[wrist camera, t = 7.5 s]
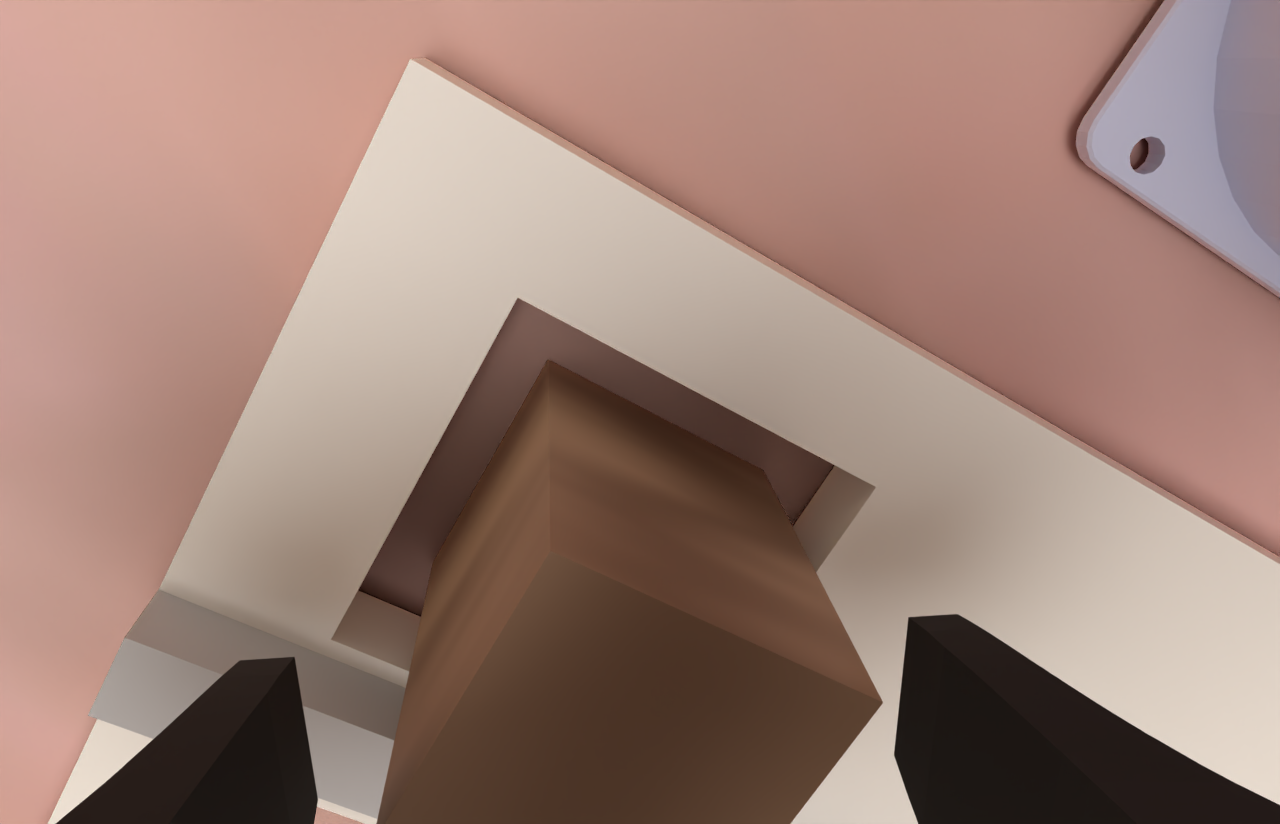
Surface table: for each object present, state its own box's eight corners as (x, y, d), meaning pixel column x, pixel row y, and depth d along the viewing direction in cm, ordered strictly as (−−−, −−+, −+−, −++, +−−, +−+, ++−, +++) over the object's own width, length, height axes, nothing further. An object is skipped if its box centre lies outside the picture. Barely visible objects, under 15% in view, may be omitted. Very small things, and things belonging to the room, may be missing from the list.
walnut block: (762, 469, 16) (882, 702, 10) (641, 653, 17) (689, 955, 11) (548, 358, 15) (551, 550, 9) (433, 562, 16) (371, 845, 10)
